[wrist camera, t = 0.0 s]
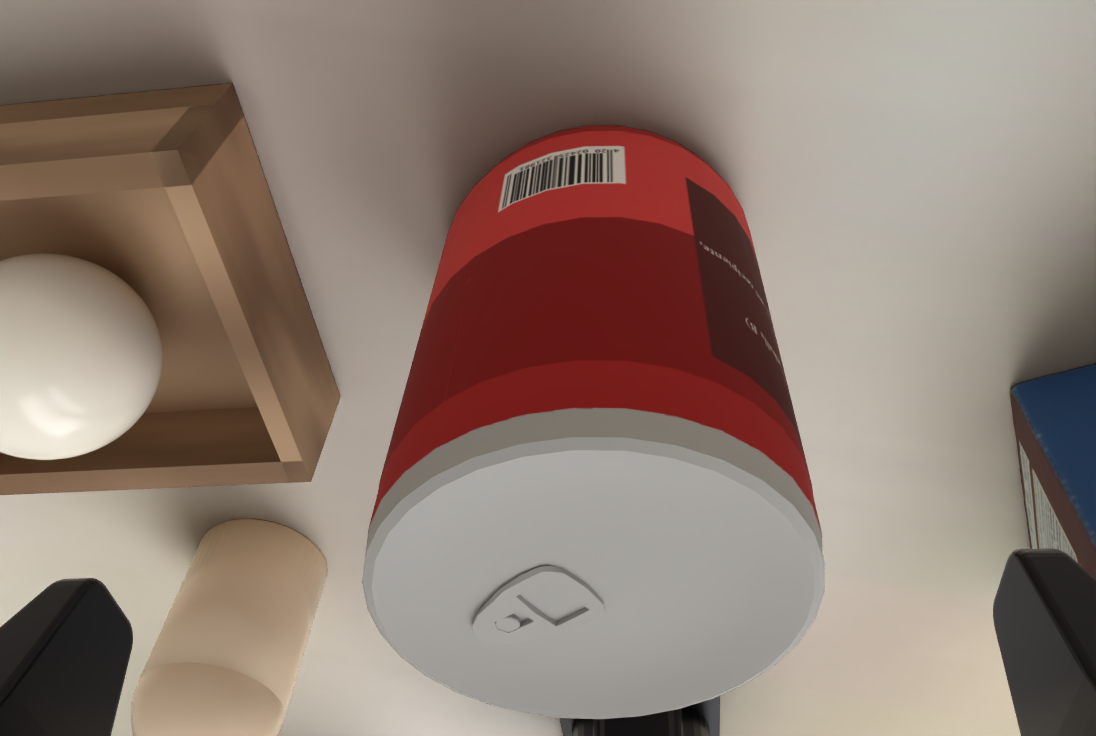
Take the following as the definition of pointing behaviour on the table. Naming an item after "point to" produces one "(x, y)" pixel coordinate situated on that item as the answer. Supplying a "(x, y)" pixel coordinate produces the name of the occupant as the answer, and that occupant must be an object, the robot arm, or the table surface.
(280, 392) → the crate
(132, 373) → the ball
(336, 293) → the table surface
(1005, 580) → the robot arm
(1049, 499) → the protein box
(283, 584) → the cylinder
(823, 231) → the table surface
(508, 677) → the canned food
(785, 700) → the table surface
